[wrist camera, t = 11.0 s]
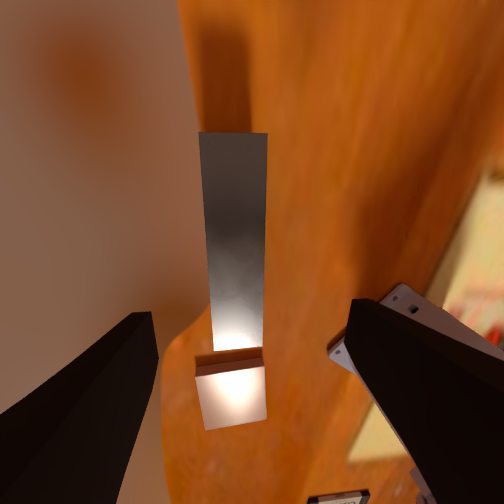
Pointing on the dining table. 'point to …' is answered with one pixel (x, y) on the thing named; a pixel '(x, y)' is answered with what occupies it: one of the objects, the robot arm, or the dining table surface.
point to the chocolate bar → (342, 498)
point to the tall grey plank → (235, 234)
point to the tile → (232, 392)
